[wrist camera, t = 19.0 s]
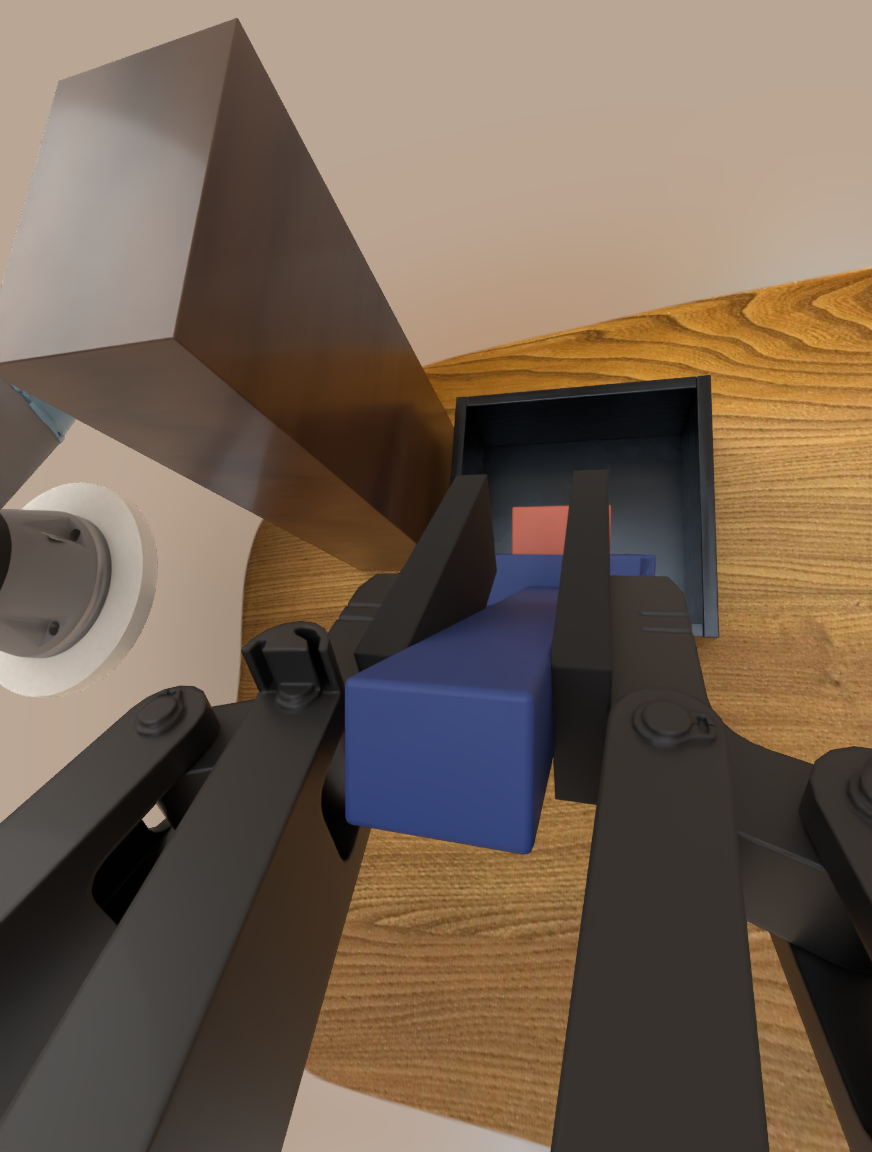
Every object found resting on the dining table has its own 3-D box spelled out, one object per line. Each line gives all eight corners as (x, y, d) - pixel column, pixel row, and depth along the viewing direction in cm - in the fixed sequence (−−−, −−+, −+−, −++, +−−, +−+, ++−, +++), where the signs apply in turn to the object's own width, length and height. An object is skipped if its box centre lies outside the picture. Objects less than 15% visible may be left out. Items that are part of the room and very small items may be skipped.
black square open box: (464, 637, 41) (439, 625, 35) (477, 442, 45) (456, 397, 38) (696, 648, 36) (719, 637, 30) (691, 429, 40) (710, 374, 33)
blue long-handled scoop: (154, 793, 6) (148, 559, 6) (495, 607, 27) (495, 553, 27) (845, 915, 4) (861, 568, 4) (639, 612, 25) (640, 554, 25)
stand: (359, 570, 45) (-23, 367, 17) (373, 442, 48) (57, 80, 20) (449, 571, 43) (173, 338, 15) (458, 436, 45) (237, 16, 17)
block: (511, 600, 22) (511, 506, 22) (523, 593, 26) (524, 513, 26) (609, 603, 21) (610, 504, 21) (607, 595, 25) (608, 511, 25)
